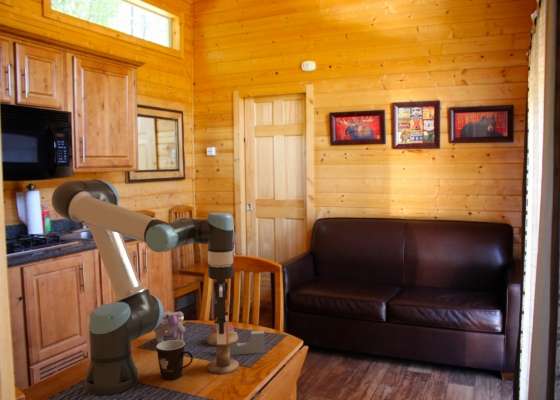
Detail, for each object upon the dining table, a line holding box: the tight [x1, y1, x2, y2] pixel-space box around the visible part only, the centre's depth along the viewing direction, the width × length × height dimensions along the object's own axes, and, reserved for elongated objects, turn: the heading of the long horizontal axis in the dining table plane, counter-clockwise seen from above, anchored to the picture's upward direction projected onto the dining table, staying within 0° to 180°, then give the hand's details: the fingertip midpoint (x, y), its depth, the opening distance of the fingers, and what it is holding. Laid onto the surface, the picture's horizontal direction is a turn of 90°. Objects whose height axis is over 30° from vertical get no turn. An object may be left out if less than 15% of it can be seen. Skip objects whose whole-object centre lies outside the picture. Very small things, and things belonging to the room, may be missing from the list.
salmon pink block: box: [217, 315, 230, 345], centre depth 148 cm, size 4×5×7 cm
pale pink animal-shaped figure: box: [153, 310, 186, 344], centre depth 178 cm, size 20×11×14 cm, turn 25°
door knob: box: [206, 332, 240, 375], centre depth 158 cm, size 10×10×10 cm
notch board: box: [230, 330, 266, 356], centre depth 170 cm, size 14×2×7 cm, turn 95°
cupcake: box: [210, 323, 235, 335], centre depth 180 cm, size 9×8×12 cm
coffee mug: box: [156, 339, 194, 382], centre depth 150 cm, size 12×9×10 cm
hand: (221, 340), depth 148 cm, fingers closed on salmon pink block, 5 cm apart
